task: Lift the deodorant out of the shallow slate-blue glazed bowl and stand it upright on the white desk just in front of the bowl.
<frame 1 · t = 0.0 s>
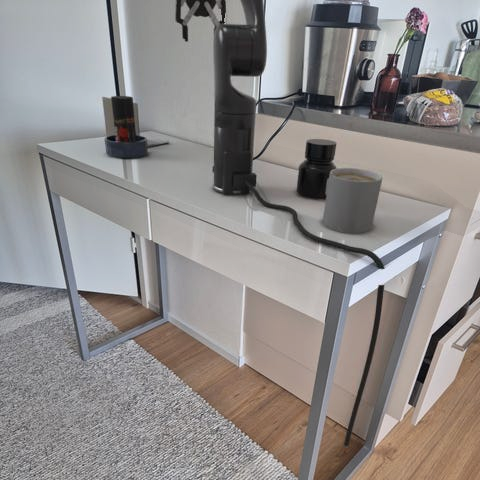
hand: (201, 42, 126), 29 cm above the table, tool pointing down, fingers open, 8 cm apart
bowl: (127, 154, 131), on the table
laptop: (138, 142, 146), on the table
coffee mug: (351, 223, 90), on the table
ink bottle: (314, 195, 105), on the table
deodorant: (127, 153, 131), resting on bowl
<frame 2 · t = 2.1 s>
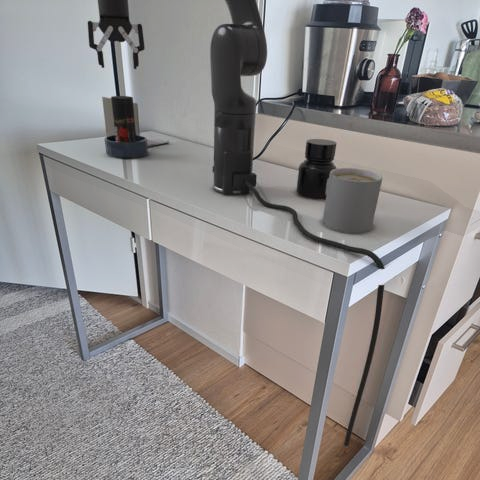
hand: (119, 68, 119), 23 cm above the table, tool pointing down, fingers open, 8 cm apart
nothing on the table moved.
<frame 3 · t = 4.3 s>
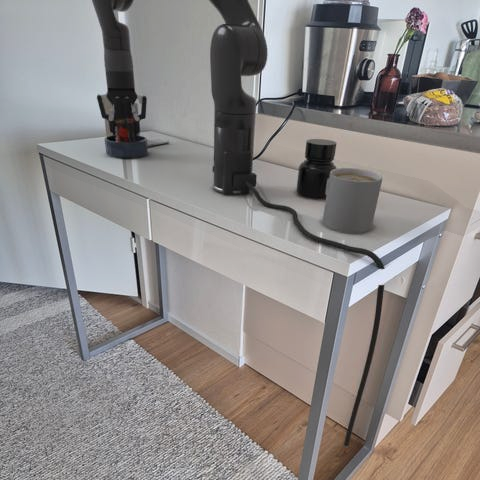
hand: (125, 134, 128), 6 cm above the table, tool pointing down, fingers closed on deodorant, 6 cm apart
deodorant: (127, 153, 131), resting on bowl, touching gripper
everything else where it was.
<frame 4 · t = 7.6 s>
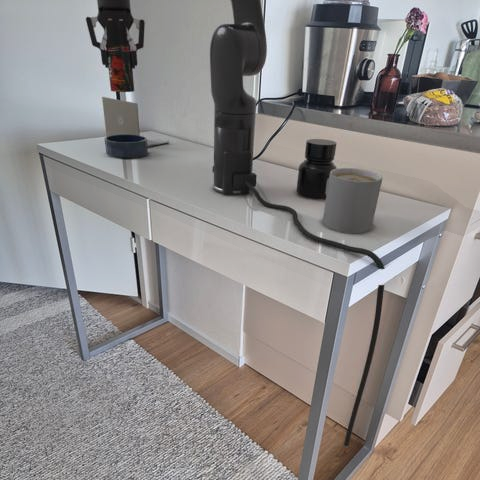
hand: (120, 67, 110), 23 cm above the table, tool pointing down, fingers closed on deodorant, 6 cm apart
deodorant: (122, 91, 112), point 18 cm above the table, touching gripper
everything else where it was.
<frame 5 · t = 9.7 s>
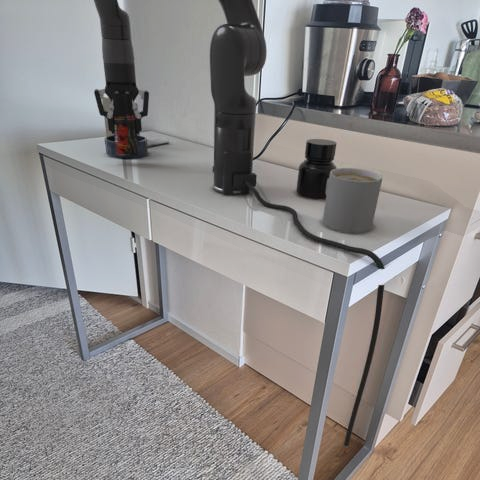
hand: (125, 133, 117), 8 cm above the table, tool pointing down, fingers closed on deodorant, 6 cm apart
deodorant: (127, 154, 120), point 3 cm above the table, touching gripper
everything else where it was.
when the fingers open (5 cm above the table, at t = 11.1 s): deodorant stays where it is, on the table.
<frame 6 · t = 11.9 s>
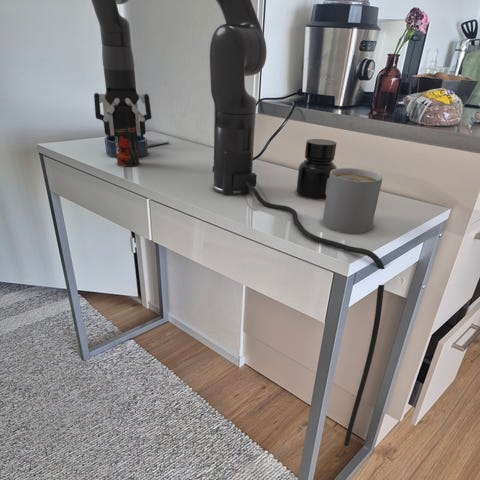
hand: (125, 136, 117), 7 cm above the table, tool pointing down, fingers open, 8 cm apart
deodorant: (128, 164, 121), on the table
everything else where it was.
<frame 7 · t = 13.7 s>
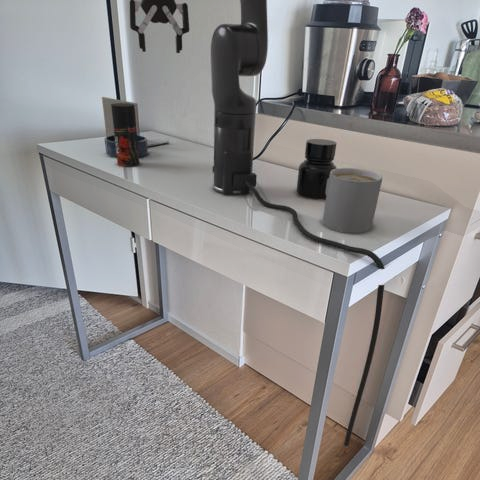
hand: (161, 52, 110), 27 cm above the table, tool pointing down, fingers open, 8 cm apart
nothing on the table moved.
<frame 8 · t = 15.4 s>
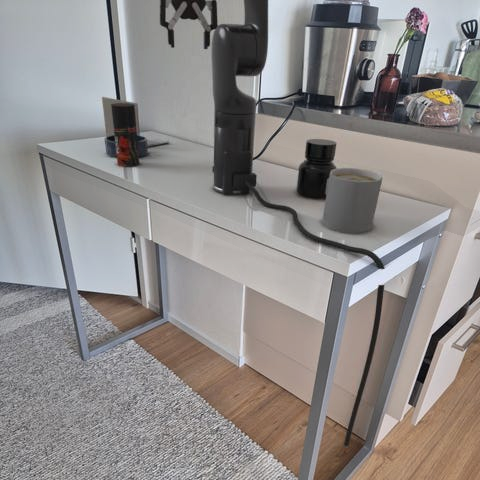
hand: (189, 48, 111), 28 cm above the table, tool pointing down, fingers open, 8 cm apart
nothing on the table moved.
at the end: deodorant inside the target area (0.1 cm from its centre), on the table; deodorant tilted 0°; deodorant touching table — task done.
